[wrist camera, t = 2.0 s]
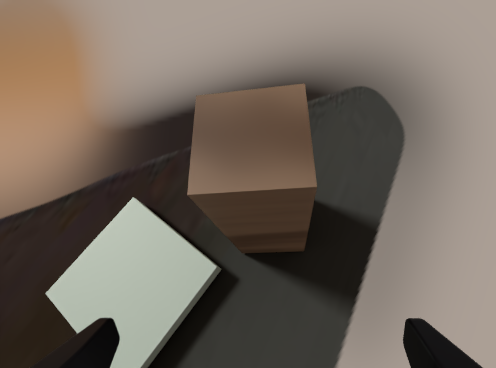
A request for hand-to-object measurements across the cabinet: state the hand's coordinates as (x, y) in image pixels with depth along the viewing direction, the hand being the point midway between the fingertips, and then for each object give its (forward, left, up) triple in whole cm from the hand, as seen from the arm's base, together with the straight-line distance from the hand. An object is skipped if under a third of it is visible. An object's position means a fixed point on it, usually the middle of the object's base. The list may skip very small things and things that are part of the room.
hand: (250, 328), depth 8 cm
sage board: (+10, +5, -13) cm, 17 cm away
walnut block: (+4, -6, -13) cm, 15 cm away
